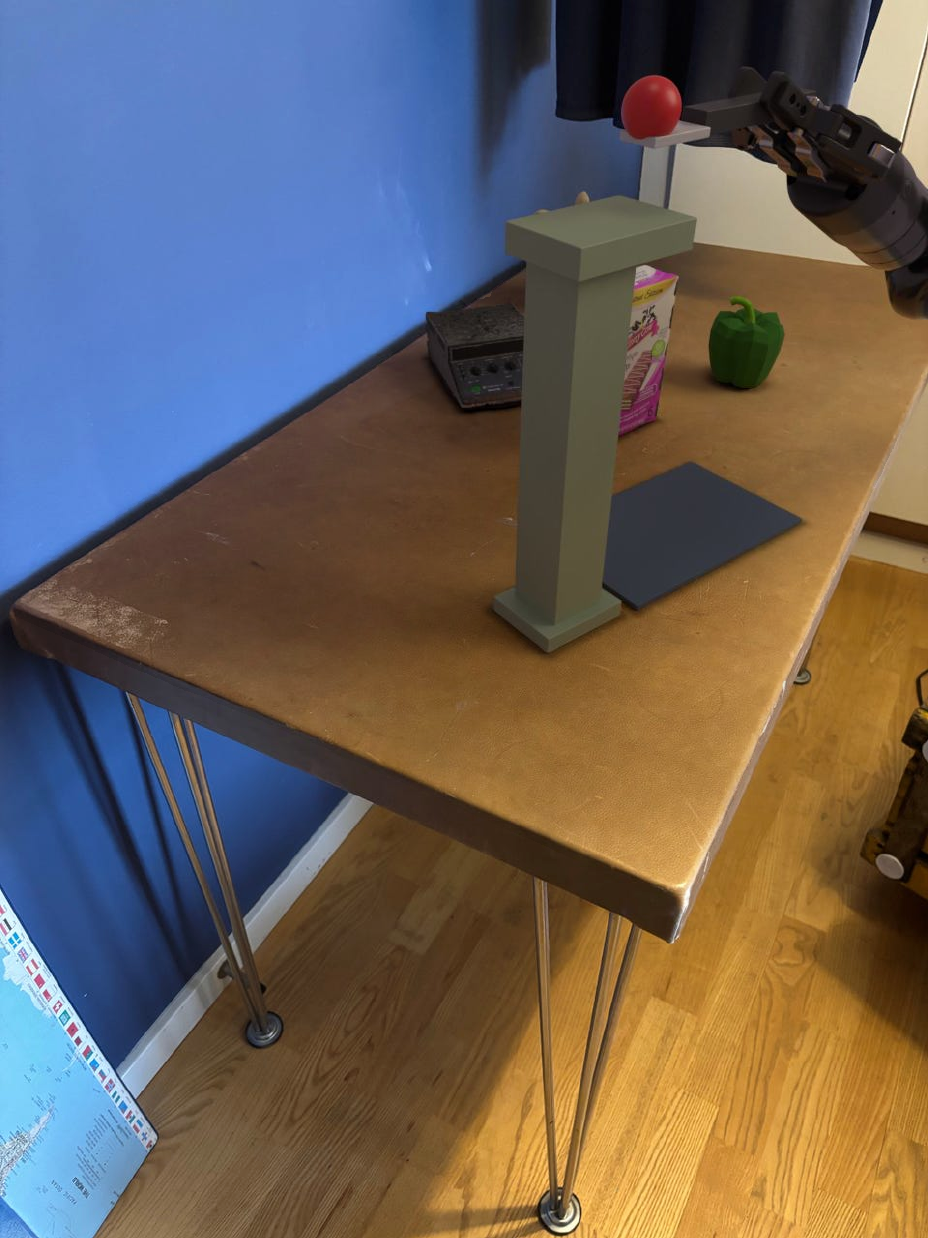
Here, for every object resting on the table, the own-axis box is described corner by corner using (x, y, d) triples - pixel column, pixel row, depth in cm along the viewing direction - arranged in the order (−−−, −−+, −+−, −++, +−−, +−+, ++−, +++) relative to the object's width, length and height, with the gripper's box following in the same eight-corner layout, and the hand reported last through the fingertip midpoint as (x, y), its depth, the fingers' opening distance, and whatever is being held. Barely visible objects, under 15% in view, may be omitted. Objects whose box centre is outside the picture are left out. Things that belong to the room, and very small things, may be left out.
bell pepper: (785, 377, 112) (803, 296, 105) (755, 400, 107) (773, 316, 101) (722, 360, 116) (737, 280, 110) (691, 381, 111) (704, 300, 105)
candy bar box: (591, 452, 97) (605, 299, 87) (558, 435, 100) (568, 285, 90) (660, 420, 103) (681, 273, 93) (627, 405, 106) (643, 261, 96)
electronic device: (461, 415, 105) (460, 364, 101) (425, 356, 118) (423, 309, 114) (558, 402, 107) (560, 351, 103) (512, 345, 120) (513, 298, 116)
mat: (690, 465, 95) (690, 460, 95) (801, 523, 86) (802, 518, 86) (529, 536, 85) (529, 532, 85) (637, 610, 76) (637, 606, 76)
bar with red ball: (778, 107, 65) (789, 47, 62) (821, 115, 62) (834, 54, 60) (606, 141, 57) (611, 74, 54) (648, 151, 55) (655, 82, 52)
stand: (584, 565, 81) (619, 194, 62) (641, 604, 77) (697, 217, 57) (492, 610, 76) (498, 222, 57) (547, 653, 72) (574, 249, 53)
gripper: (909, 256, 69) (812, 162, 56) (762, 216, 77) (649, 126, 65) (965, 154, 66) (877, 32, 54) (807, 124, 75) (699, 13, 63)
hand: (753, 84), depth 59 cm, fingers closed on bar with red ball, 2 cm apart
